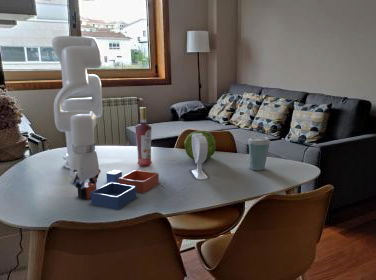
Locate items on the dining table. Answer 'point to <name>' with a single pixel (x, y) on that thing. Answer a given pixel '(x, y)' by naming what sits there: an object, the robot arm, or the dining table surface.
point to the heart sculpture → (199, 154)
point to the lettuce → (209, 140)
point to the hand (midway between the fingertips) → (87, 194)
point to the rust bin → (140, 180)
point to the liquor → (143, 140)
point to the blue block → (113, 176)
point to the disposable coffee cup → (258, 152)
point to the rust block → (89, 189)
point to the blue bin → (113, 195)
